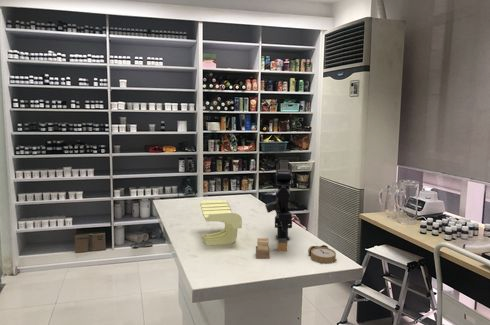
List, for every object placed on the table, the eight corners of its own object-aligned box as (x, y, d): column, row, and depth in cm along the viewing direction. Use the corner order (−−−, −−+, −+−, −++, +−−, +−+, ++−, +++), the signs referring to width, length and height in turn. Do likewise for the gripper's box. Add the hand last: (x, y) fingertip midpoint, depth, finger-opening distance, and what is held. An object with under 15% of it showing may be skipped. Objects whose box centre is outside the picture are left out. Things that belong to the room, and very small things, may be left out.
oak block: (257, 246, 181) (257, 238, 181) (267, 246, 181) (268, 238, 181) (257, 250, 176) (257, 241, 176) (268, 250, 176) (268, 241, 176)
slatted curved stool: (241, 248, 189) (241, 212, 187) (209, 251, 185) (209, 214, 183) (228, 230, 218) (228, 199, 216) (200, 232, 214) (200, 200, 212)
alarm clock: (317, 258, 169) (304, 242, 183) (316, 268, 171) (303, 251, 185) (340, 256, 172) (326, 240, 186) (339, 266, 174) (325, 249, 187)
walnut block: (255, 254, 182) (255, 246, 182) (268, 254, 182) (268, 246, 182) (256, 259, 176) (256, 250, 176) (269, 259, 176) (269, 250, 176)
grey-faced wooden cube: (277, 248, 190) (277, 238, 190) (286, 248, 190) (286, 238, 190) (278, 251, 186) (278, 241, 185) (287, 251, 186) (287, 241, 185)
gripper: (265, 192, 194) (264, 222, 196) (267, 201, 175) (267, 234, 178) (287, 192, 194) (286, 223, 196) (292, 201, 176) (291, 234, 178)
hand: (282, 228), depth 187 cm, fingers open, 9 cm apart
